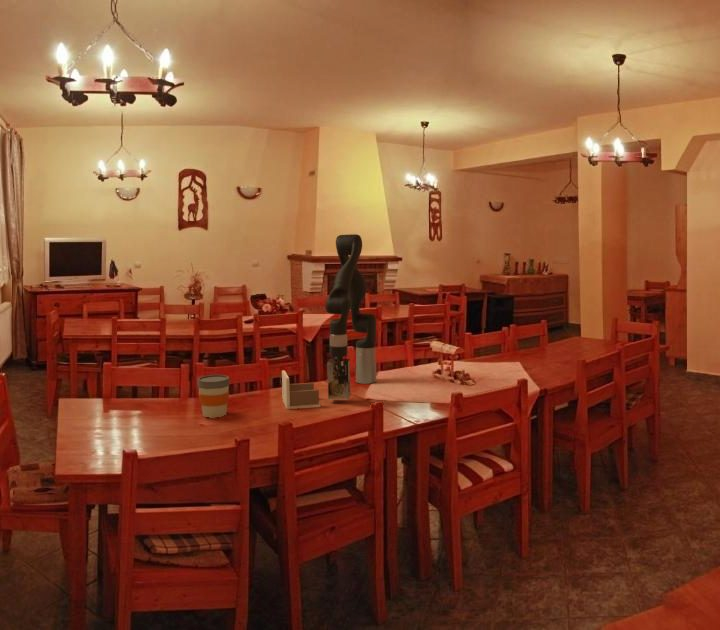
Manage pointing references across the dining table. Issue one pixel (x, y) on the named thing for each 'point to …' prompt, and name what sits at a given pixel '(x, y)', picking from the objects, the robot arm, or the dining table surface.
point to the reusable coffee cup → (213, 395)
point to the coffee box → (333, 387)
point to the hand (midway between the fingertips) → (339, 381)
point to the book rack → (299, 394)
